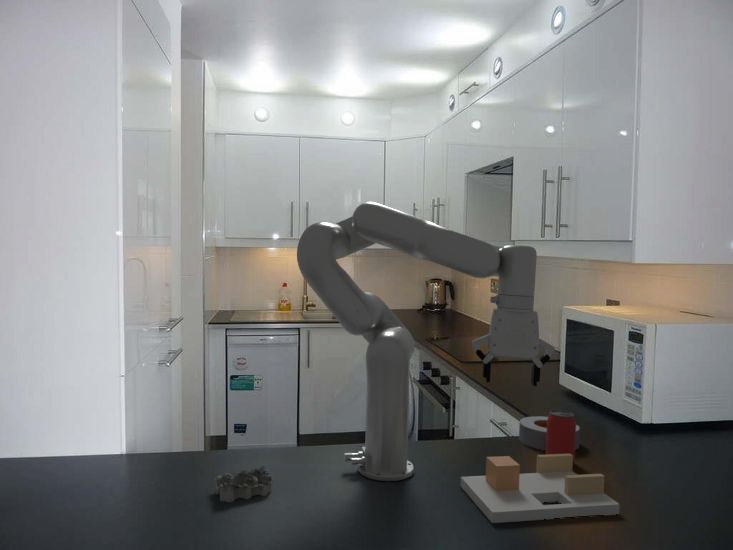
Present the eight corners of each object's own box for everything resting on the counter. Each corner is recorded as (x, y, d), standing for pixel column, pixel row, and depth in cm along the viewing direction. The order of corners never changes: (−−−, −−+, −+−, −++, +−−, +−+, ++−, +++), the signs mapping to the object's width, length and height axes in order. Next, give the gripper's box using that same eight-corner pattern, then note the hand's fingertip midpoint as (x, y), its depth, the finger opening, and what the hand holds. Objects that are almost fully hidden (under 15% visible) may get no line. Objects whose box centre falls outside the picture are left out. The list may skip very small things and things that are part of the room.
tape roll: (512, 432, 152) (513, 414, 151) (567, 434, 151) (568, 416, 151) (527, 451, 136) (528, 432, 136) (588, 454, 136) (589, 434, 136)
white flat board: (492, 523, 98) (493, 493, 98) (458, 483, 115) (459, 458, 115) (619, 514, 103) (620, 486, 103) (568, 477, 120) (569, 453, 120)
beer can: (576, 469, 125) (578, 418, 125) (547, 466, 126) (549, 415, 126) (571, 458, 132) (573, 410, 131) (543, 456, 133) (545, 408, 132)
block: (495, 491, 107) (496, 466, 107) (485, 480, 112) (486, 457, 112) (518, 489, 108) (519, 465, 108) (507, 479, 113) (508, 456, 113)
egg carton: (219, 505, 102) (220, 484, 102) (213, 489, 109) (213, 470, 109) (274, 496, 107) (275, 476, 107) (265, 481, 114) (265, 462, 113)
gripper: (475, 302, 112) (470, 383, 112) (561, 307, 109) (556, 390, 110) (473, 299, 119) (468, 375, 120) (553, 304, 117) (548, 382, 117)
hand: (510, 382), depth 115 cm, fingers open, 9 cm apart
